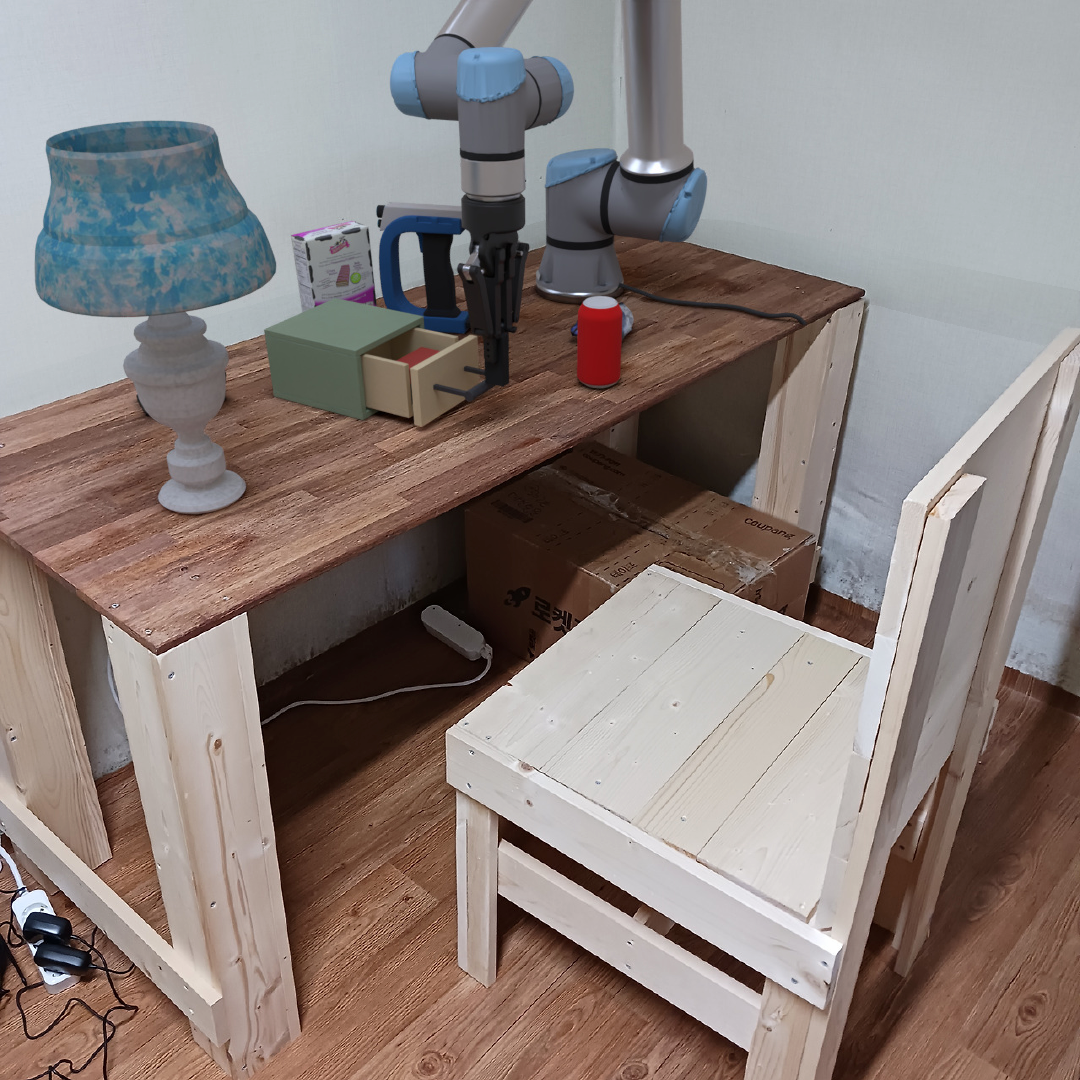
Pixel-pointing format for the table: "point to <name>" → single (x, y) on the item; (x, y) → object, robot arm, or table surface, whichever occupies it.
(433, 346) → the drawer
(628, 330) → the snack package
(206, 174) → the table lamp
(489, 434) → the table surface
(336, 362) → the cabinet
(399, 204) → the handheld scanner
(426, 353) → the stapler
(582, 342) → the beverage can
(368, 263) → the candy bar box
